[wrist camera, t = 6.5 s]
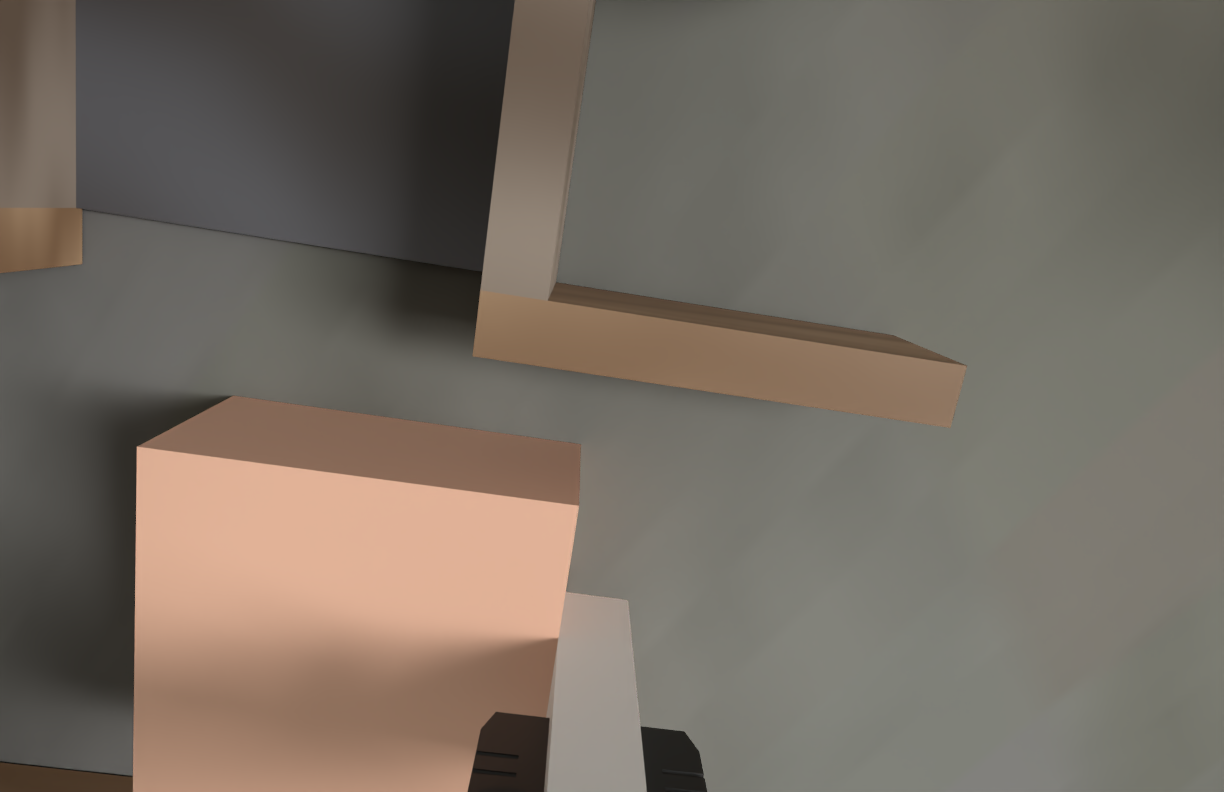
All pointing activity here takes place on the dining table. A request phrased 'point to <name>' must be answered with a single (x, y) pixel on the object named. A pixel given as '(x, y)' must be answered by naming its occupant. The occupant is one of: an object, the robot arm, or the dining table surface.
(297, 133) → the wooden tray frame
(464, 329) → the dining table surface
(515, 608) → the block
